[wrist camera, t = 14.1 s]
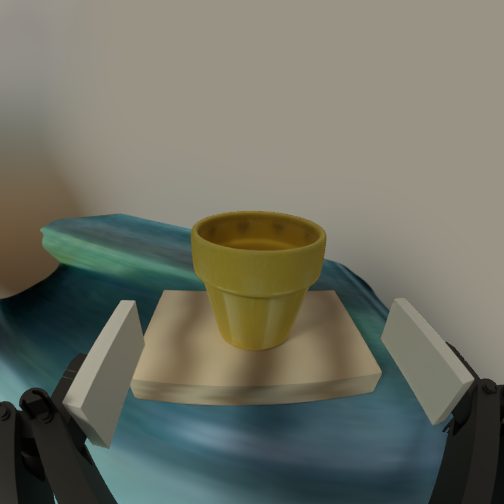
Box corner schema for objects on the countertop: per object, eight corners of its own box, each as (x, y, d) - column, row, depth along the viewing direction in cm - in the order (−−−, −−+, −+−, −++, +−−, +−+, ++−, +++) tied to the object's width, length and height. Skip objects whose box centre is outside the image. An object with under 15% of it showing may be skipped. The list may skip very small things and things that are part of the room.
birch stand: (135, 397, 18) (127, 378, 18) (166, 308, 31) (164, 290, 31) (373, 391, 20) (382, 372, 19) (330, 307, 33) (334, 290, 32)
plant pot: (293, 383, 18) (313, 261, 15) (176, 344, 22) (162, 234, 18) (320, 312, 27) (334, 219, 24) (229, 291, 31) (229, 206, 27)
